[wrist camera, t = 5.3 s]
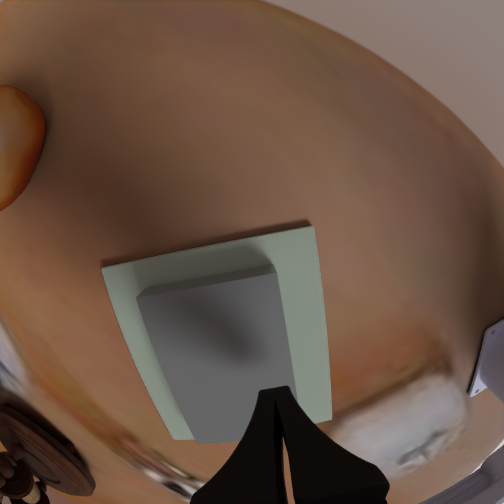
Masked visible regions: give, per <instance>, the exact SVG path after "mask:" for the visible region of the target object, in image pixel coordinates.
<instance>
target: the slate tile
mask: <svg viewBox="0 0 504 504" xmlns="http://www.w3.org/2000/svg"><path fill="white" fill-rule="evenodd" d="M136 301H137V304H138V307H139V310H140V313H141V316H142V319H143V322H144V324H145V327H146V330H147V333H148V336H149V338H150V341H151V344H152V346H153V349H154V351H155V354H156V356H157V359H158V361H159V364H160V366H161V369H162V371H163V374H164V376H165V378H166V381H167V383H168V385H169V387H170V390H171V392H172V394H173V396H174V398H175V401H176V403H177V405H178V407H179V409H180V411H181V413H182V415H183V417H184V419H185V421H186V423H187V425H188V427H189V429H190V431H191V433H192V435H193V437H194V439H195V441H196V442H197V444H204V443H222V442H234V441H241V439H242V437H243V435H244V433H245V431H246V429H247V427H248V425H249V422H250V420H251V417H252V414H253V412H254V409H255V406H256V402H257V398H258V392H259V391H260V390H263V389H269V388H275V387H280V386H286V385H287V386H289V387H290V390H291V392H292V394H293V396H294V398H295V399H296V401H297V402H298V399H297V393H296V386H295V379H294V373H293V366H292V360H291V354H290V347H289V341H288V335H287V329H286V323H285V317H284V311H283V305H282V299H281V293H280V287H279V282H278V276H277V271H276V269H275V266H274V264H270V265H265V266H260V267H255V268H249V269H244V270H239V271H233V272H228V273H223V274H217V275H212V276H207V277H201V278H196V279H190V280H185V281H179V282H174V283H168V284H162V285H157V286H151V287H146V288H145V289H144V290H143V291H142V292H141V293H140V294H139V295H138V296H137V297H136Z"/></svg>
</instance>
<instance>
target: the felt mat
mask: <svg viewBox="0 0 504 504" xmlns="http://www.w3.org/2000/svg"><path fill="white" fill-rule="evenodd" d="M270 264H274V266H275V269H276V271H277V276H278V282H279V287H280V293H281V299H282V305H283V311H284V317H285V323H286V329H287V335H288V341H289V347H290V354H291V360H292V366H293V373H294V379H295V386H296V393H297V399H298V404H299V405H300V407H301V408H302V409H303V411H304V412H305V413H306V415H307V416H308V417H309V418H310V419H311V420H312V421H313V423H314V424H315V423H319V422H323V421H327V420H331V419H332V403H331V383H330V366H329V352H328V340H327V329H326V318H325V308H324V299H323V290H322V282H321V274H320V266H319V259H318V251H317V244H316V238H315V231H314V226H313V225H310V226H305V227H300V228H294V229H289V230H284V231H278V232H273V233H268V234H263V235H257V236H252V237H247V238H242V239H237V240H232V241H227V242H222V243H217V244H212V245H207V246H202V247H197V248H192V249H187V250H182V251H177V252H172V253H167V254H162V255H158V256H153V257H148V258H143V259H138V260H134V261H129V262H124V263H120V264H115V265H110V266H106V267H103V268H101V270H102V274H103V277H104V280H105V284H106V287H107V290H108V293H109V296H110V299H111V302H112V305H113V308H114V311H115V314H116V317H117V320H118V322H119V325H120V328H121V330H122V333H123V335H124V338H125V341H126V343H127V346H128V348H129V350H130V353H131V355H132V358H133V360H134V362H135V364H136V367H137V369H138V371H139V373H140V376H141V378H142V380H143V382H144V384H145V386H146V388H147V390H148V392H149V394H150V396H151V398H152V400H153V402H154V404H155V406H156V408H157V410H158V412H159V414H160V416H161V418H162V419H163V421H164V423H165V425H166V427H167V428H168V430H169V432H170V434H171V435H172V437H173V439H174V440H187V439H194V437H193V435H192V433H191V431H190V429H189V427H188V425H187V423H186V421H185V419H184V417H183V415H182V413H181V411H180V409H179V407H178V405H177V403H176V401H175V398H174V396H173V394H172V392H171V390H170V387H169V385H168V383H167V381H166V378H165V376H164V374H163V371H162V369H161V366H160V364H159V361H158V359H157V356H156V354H155V351H154V349H153V346H152V344H151V341H150V338H149V336H148V333H147V330H146V327H145V324H144V322H143V319H142V316H141V313H140V310H139V307H138V304H137V301H136V297H137V296H138V295H139V294H140V293H141V292H142V291H143V290H144V289H145V288H146V287H151V286H157V285H162V284H168V283H174V282H179V281H185V280H190V279H196V278H201V277H207V276H212V275H217V274H223V273H228V272H233V271H239V270H244V269H249V268H255V267H260V266H265V265H270Z"/></svg>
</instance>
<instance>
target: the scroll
mask: <svg viewBox="0 0 504 504" xmlns="http://www.w3.org/2000/svg"><path fill="white" fill-rule="evenodd" d="M0 441H1V443H2V444H3V446H4V447H5V448H6V450H7V451H8V452H5V451H4V452H0V504H2V503H1V502H2V499H3V496H4V495H5V496H7V497H9V498H10V501H11V503H12V504H50V502H49V499H48V496H47V495H46V494H45V492H46V491H47V489H46V485H47V486H48V485H49V486H51V487H52V488H55V489H57V490H59V491H61V492H64V493H67V494H70V495H75V496H90V495H92V494H93V491H94V489H95V487H96V484H95V481H94V479H93V477H92V475H91V474H90V473H89V471H88V470H87V469H86V468H85V467H84V465H83V464H82V463H81V462H80V461H79V460H78V459H77V458H76V457H75V456H74V455H73V452H74V445H73V444H72V443H68V444H67V445H65V446H62V445H61V444H60V443H59V442H58V441H56V440H55V439H54V438H53V437H52V436H50V435H49V434H48V433H47V432H45V431H44V430H43V429H42V428H40V427H39V426H38V425H36V424H35V423H33V422H32V421H31V420H29V419H28V418H26V417H25V416H23V415H22V414H20V413H18V412H17V411H15V410H13V409H11V408H9V404H8V403H4V404H2V405H0ZM33 476H35V477H36V478H38V479H39V480H40V481H38V482H35V481H34V478H33Z"/></svg>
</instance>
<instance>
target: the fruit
mask: <svg viewBox="0 0 504 504" xmlns="http://www.w3.org/2000/svg"><path fill="white" fill-rule="evenodd" d="M44 137H45V118H44V114H43V112H42V110H41V109H40V108H39V106H38V105H37V104H36V103H35V102H34V101H33V100H32V99H31V98H30V97H29V96H28V95H27V94H26V93H25V92H23V91H21V90H20V89H18V88H15V87H11V86H6V85H0V211H2V210H3V209H5V208H6V207H8V206H9V205H10V204H12V203H13V202H14V201H15V200H16V198H17V197H18V196H19V195H20V194H21V193H22V192H23V191H24V190H25V188H26V187H27V185H28V183H29V181H30V178H31V176H32V174H33V171H34V169H35V167H36V164H37V162H38V160H39V157H40V154H41V151H42V146H43V142H44Z"/></svg>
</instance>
